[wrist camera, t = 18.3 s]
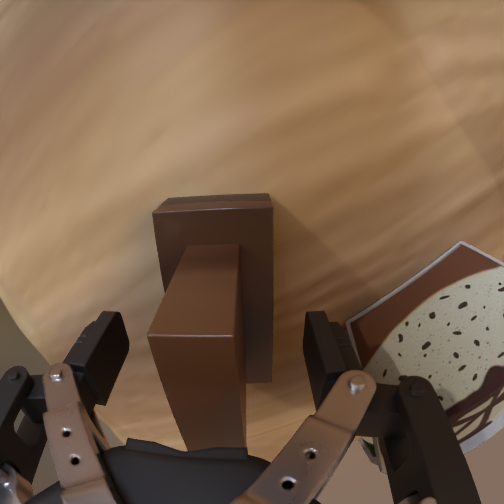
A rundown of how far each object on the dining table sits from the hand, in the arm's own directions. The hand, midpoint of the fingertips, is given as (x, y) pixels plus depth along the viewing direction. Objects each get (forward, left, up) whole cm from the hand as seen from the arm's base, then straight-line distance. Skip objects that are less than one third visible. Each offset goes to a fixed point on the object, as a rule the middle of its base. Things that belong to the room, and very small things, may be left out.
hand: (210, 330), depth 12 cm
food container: (+3, +13, -5) cm, 14 cm away
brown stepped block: (0, 0, -4) cm, 4 cm away
